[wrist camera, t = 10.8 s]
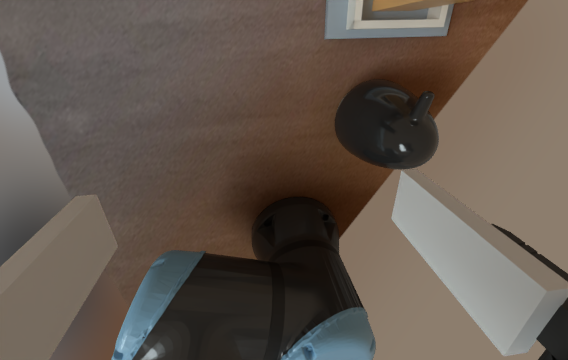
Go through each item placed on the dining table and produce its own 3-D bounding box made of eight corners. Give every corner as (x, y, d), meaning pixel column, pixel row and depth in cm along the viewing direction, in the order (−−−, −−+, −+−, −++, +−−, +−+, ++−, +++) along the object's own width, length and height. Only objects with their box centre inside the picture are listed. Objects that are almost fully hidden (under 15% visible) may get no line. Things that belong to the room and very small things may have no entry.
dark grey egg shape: (401, 72, 36) (491, 92, 23) (387, 143, 41) (455, 193, 28) (330, 74, 35) (381, 95, 22) (324, 147, 40) (364, 200, 27)
